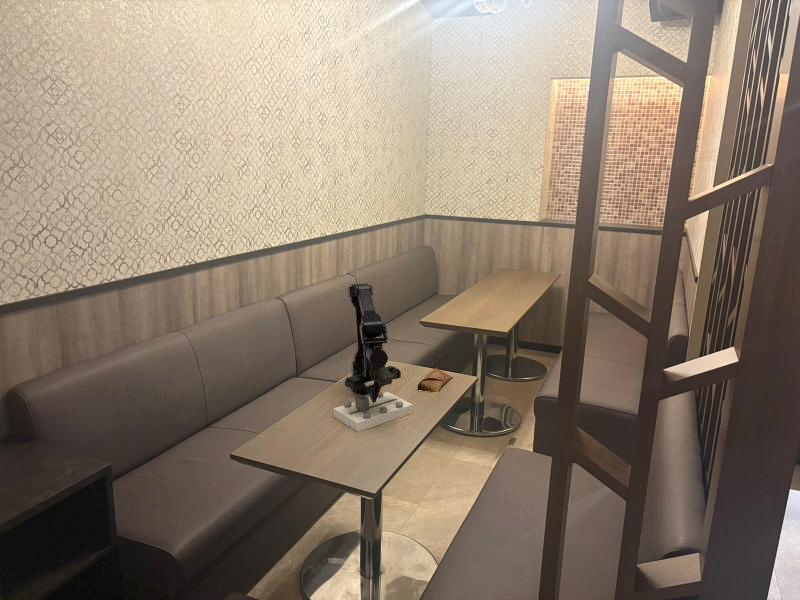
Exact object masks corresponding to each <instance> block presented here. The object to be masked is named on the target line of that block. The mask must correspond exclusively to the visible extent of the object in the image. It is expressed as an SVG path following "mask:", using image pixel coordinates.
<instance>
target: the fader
mask: <svg viewBox="0 0 800 600" xmlns="http://www.w3.org/2000/svg"><path fill="white" fill-rule="evenodd" d="M354 402H355V407H356V408H357V409H359V410H360V411H362V412H365V411H368V410H369V397H368V396H365V395H362V394H361V395H359V394H358V395H355V399H354Z"/></svg>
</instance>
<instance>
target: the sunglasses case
mask: <svg viewBox="0 0 800 600" xmlns="http://www.w3.org/2000/svg"><path fill="white" fill-rule="evenodd" d="M453 378H454V376H452V375H450V374H448V373H447V372H444V371H442V370H440V369H439V368H438V367H435V368H434V369H433V370H431V371H430V372H429V373H428V374H427V375H426V376H425V377H424V378H422V379H421V381H420V382H419V383H418V384H417V390H418V391H419V390H422V391H421V392H425V391H430V392H429V393H433V392H439V393H440V391H441V390H442V389H443V388H442V387H443V386H444V387H445V386H446V385H447V384H448V383H449V382H450V381H451V380H452V379H453ZM450 379H451V380H450ZM449 380H450V381H449ZM448 381H449V382H448ZM447 382H448V383H447Z"/></svg>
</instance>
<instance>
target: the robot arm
mask: <svg viewBox="0 0 800 600" xmlns="http://www.w3.org/2000/svg"><path fill="white" fill-rule="evenodd" d="M373 288H374V287H373V285H372V284H371V285H370V284H368V283H367V282H366V283H365V282H364V283H350V285H349V286H347V289H346V292H347V297H348V299H349V303H350V304H351V305H352V306H351V307H353V308H354V309H353V310H354V319H355V320H354V322H355V339H356V340H355V341H356V350H355V352H354V354H353V355H352V361H351V365H350V376H347V377H346V378H345V380H344V386H345V387H346V388H349V389H350V390H351V391H352V392H354V393H356V394H358V395H361V394H362V395H363V396H365V395H367V394H368V398H369V397H370V399H371V401H372V402H373V403H375V402H376V400H377V397H378V394H379V392H381V389H382V387H385V386H388V385H392V383H393V380H398V379H401V378H402V372H401V370H400V369H399V368H397V367H396V366H393V365H388V366H386V364H387V363H388V360H389V359H388V358H389V357H388V354H387V352H386V351H385V349H384V347H383V344H388V341H387V340H388V339H389V338H388V337H389V335H388V332H387V331H388V330H387V326H386V323H385V322H384V321H383V319H382V317H381V316H382V315H380V314H379V313H377V312H376V309H375V304H374V300H373V296H374V289H373Z"/></svg>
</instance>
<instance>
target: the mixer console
mask: <svg viewBox="0 0 800 600" xmlns="http://www.w3.org/2000/svg"><path fill="white" fill-rule="evenodd" d="M368 398H369V410H368V411H365V412H362V411H360V410H359V409H357V408H356V407H355V401H353V402H352V401H347V400H346V401H344V402H343V405H340V406H337V407H333V418H335V419H336V420H338V421H340V422H341V423H343V424H345V425H347V426H348V427H349V426H350V427H349V428H351V429H352V430H353V431H356V432H357V433H359V432H361V430H362V431H364V429H365V430H367V428H368V429H369V428H373V427H376V426H379V425H382V424H385V423H388V422H391V421H393V420H397V419H399V418H402V416H403V417H405V415H406V416H408V415H411V414H413V413H414V405H413V404H412V403H410V402H409V401H407V400H406V399H405V400H404V399H402V398H400V397H399V396H397V395H394V394H392V393H390V392H388V391H386V392H383V391H380V392H379V394H378V397H377V400H376V402H375V403H373V402H372V401H371V399H370V397H369V396H368Z"/></svg>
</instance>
